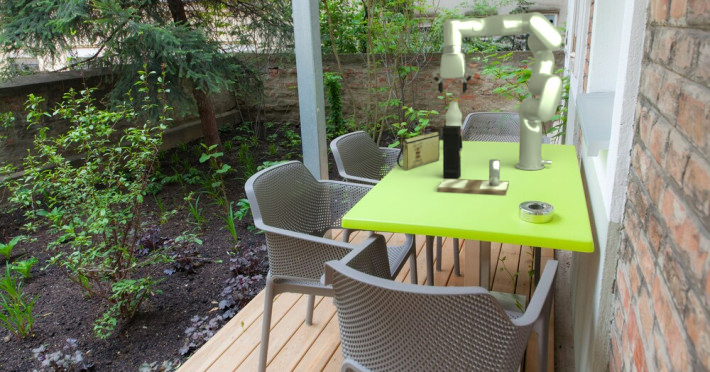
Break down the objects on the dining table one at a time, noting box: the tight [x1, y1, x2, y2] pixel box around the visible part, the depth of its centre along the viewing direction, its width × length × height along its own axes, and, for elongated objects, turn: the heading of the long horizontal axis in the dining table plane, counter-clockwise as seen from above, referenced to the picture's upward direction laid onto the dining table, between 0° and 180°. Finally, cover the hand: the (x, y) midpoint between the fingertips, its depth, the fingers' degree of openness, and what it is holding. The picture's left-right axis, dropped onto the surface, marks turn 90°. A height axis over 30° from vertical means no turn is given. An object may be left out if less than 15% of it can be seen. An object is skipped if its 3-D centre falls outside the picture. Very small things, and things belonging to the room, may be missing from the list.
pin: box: [488, 158, 501, 186], centre depth 196 cm, size 4×4×10 cm
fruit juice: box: [444, 98, 463, 152], centre depth 272 cm, size 9×9×28 cm
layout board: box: [437, 178, 510, 196], centre depth 200 cm, size 26×16×2 cm, turn 69°
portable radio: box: [442, 124, 463, 180], centre depth 215 cm, size 8×6×25 cm
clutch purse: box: [396, 131, 440, 171], centre depth 244 cm, size 30×7×15 cm, turn 135°
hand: (452, 92), depth 209 cm, fingers open, 9 cm apart
